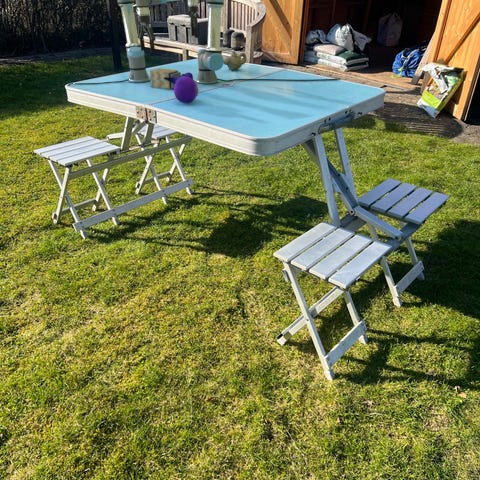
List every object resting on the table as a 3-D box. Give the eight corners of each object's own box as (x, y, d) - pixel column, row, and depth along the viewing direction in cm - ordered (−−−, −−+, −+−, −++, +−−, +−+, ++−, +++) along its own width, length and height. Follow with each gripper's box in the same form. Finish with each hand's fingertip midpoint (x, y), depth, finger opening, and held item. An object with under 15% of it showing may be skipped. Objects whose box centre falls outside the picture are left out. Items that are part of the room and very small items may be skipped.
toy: (187, 94, 295) (198, 108, 275) (161, 90, 288) (170, 104, 267) (192, 70, 287) (203, 83, 267) (165, 65, 280) (175, 77, 259)
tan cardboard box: (179, 86, 319) (178, 70, 314) (169, 89, 312) (168, 72, 306) (161, 84, 328) (159, 68, 322) (151, 86, 321) (149, 70, 315)
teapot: (227, 72, 362) (226, 52, 355) (220, 70, 371) (219, 51, 363) (249, 69, 371) (249, 50, 364) (242, 67, 380) (242, 48, 372)
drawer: (188, 86, 314) (187, 72, 310) (179, 89, 308) (178, 75, 303) (164, 83, 325) (163, 70, 321) (155, 85, 319) (154, 72, 314)
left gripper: (201, 6, 327) (202, 38, 338) (195, 5, 348) (196, 34, 359) (191, 6, 326) (193, 38, 336) (185, 5, 346) (187, 35, 357)
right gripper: (129, 14, 288) (134, 50, 299) (147, 16, 270) (151, 54, 281) (140, 13, 292) (144, 48, 302) (158, 15, 274) (162, 52, 285)
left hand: (194, 36), depth 348 cm, fingers open, 13 cm apart
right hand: (148, 51), depth 292 cm, fingers open, 13 cm apart
